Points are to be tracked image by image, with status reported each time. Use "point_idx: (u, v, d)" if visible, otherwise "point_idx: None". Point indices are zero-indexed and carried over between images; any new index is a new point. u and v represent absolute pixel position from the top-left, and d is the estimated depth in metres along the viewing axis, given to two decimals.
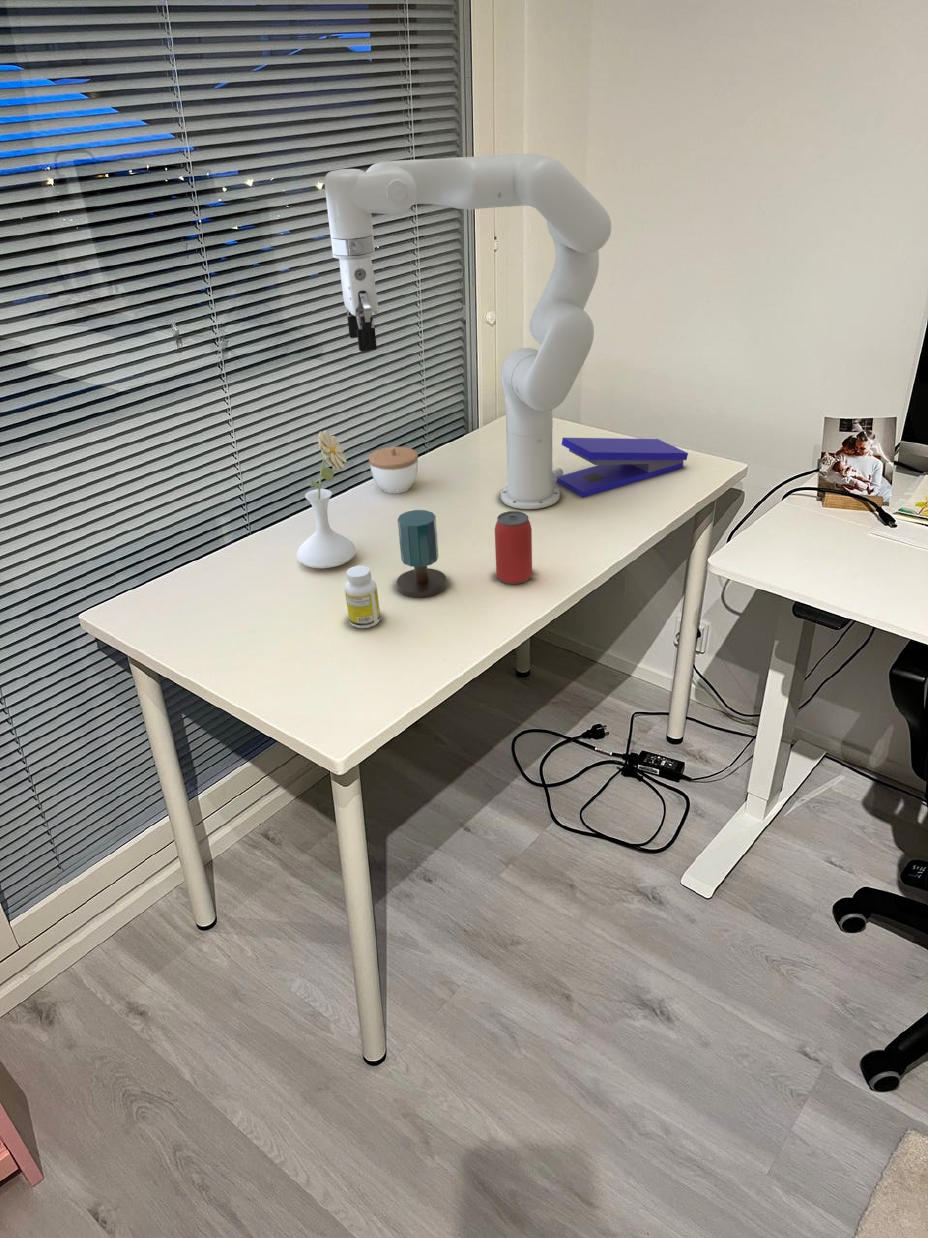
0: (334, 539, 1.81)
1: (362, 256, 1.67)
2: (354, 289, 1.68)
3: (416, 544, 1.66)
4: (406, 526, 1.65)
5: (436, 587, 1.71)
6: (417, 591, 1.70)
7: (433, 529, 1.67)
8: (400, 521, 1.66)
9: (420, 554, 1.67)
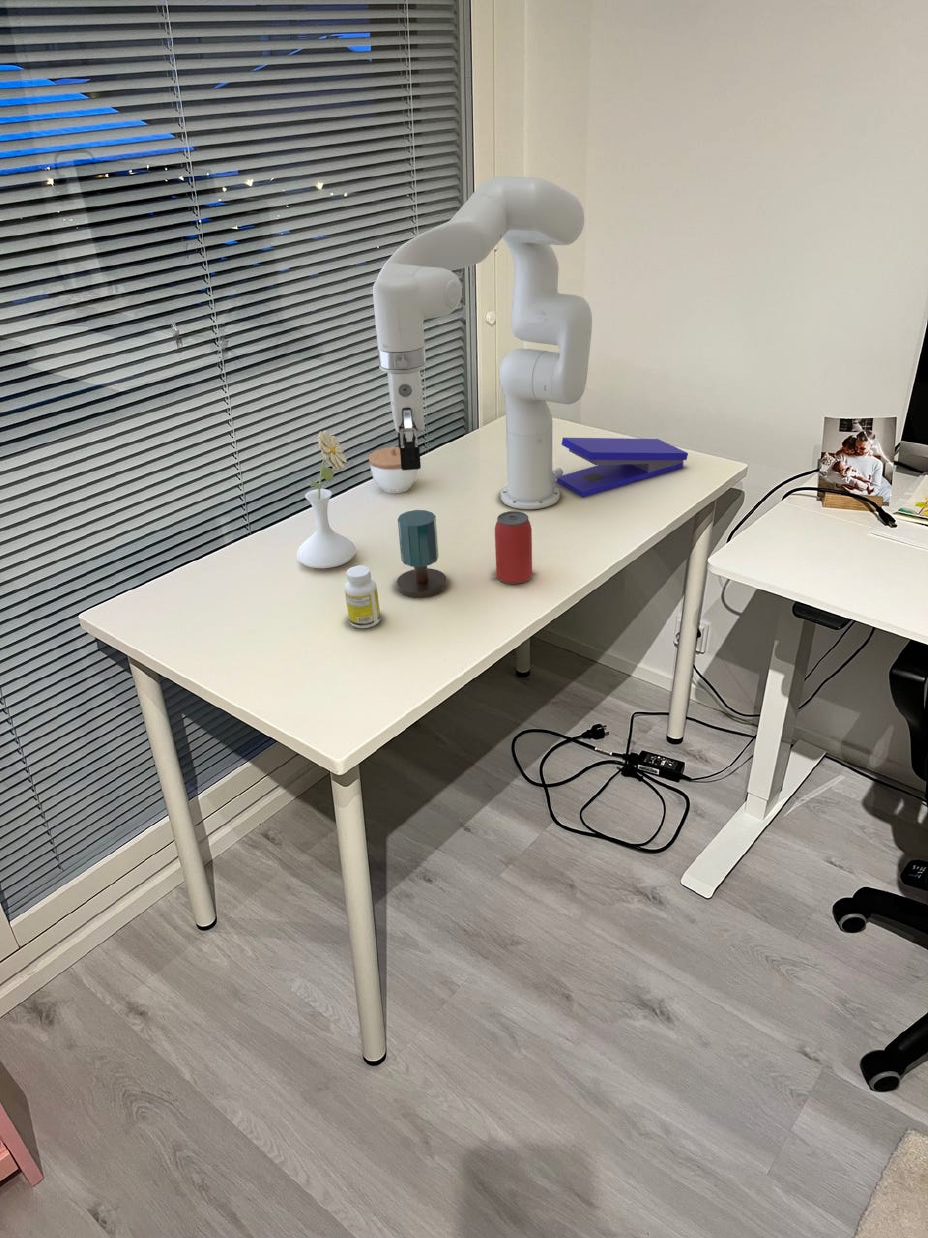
0: (334, 539, 1.81)
1: (409, 371, 1.51)
2: (398, 405, 1.52)
3: (416, 544, 1.66)
4: (406, 526, 1.65)
5: (436, 587, 1.71)
6: (417, 591, 1.70)
7: (433, 529, 1.67)
8: (400, 521, 1.66)
9: (420, 554, 1.67)
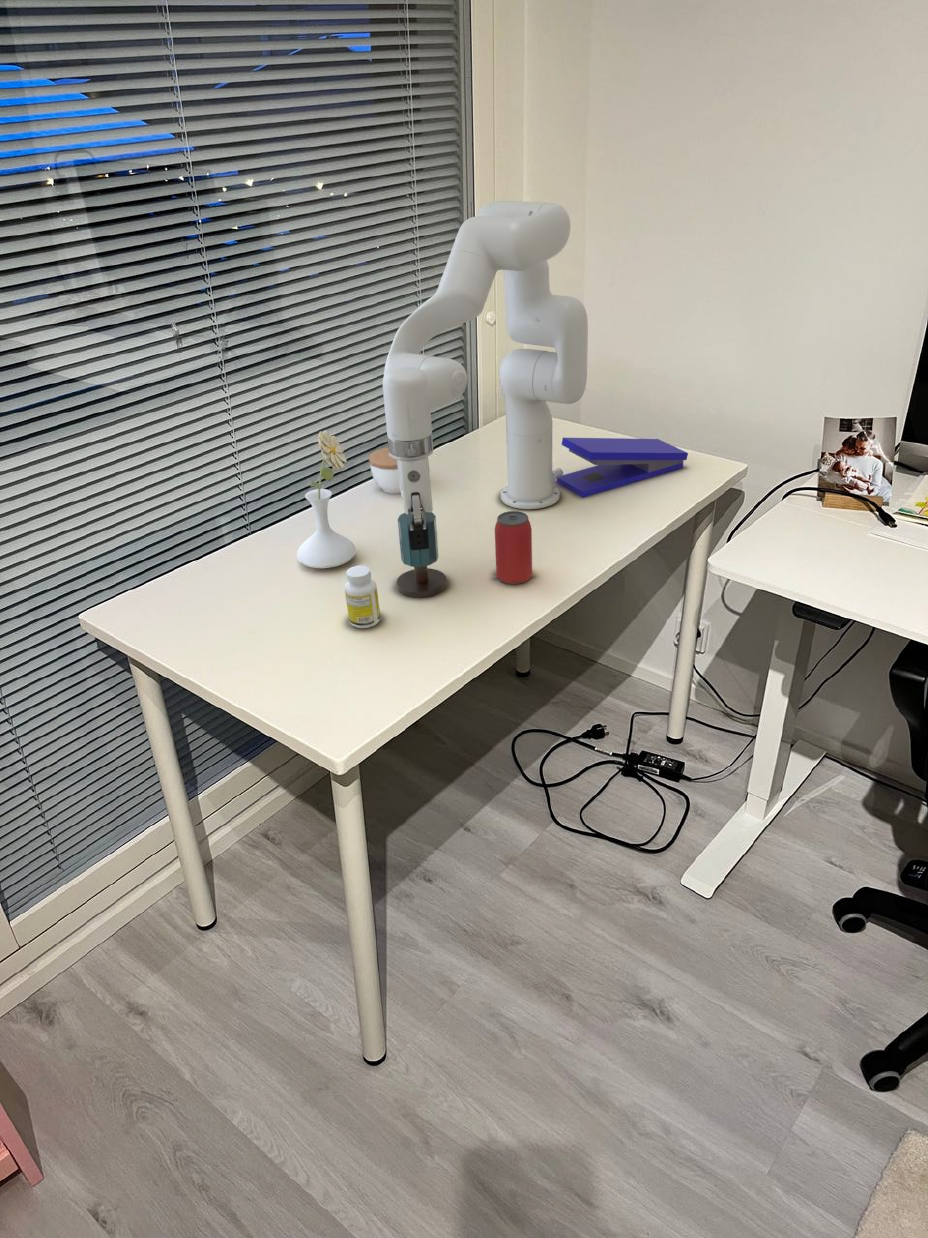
0: (334, 539, 1.81)
1: (417, 458, 1.58)
2: (407, 490, 1.59)
3: None
4: (406, 526, 1.65)
5: (436, 587, 1.71)
6: (417, 591, 1.70)
7: (433, 529, 1.67)
8: (400, 521, 1.66)
9: (420, 554, 1.67)
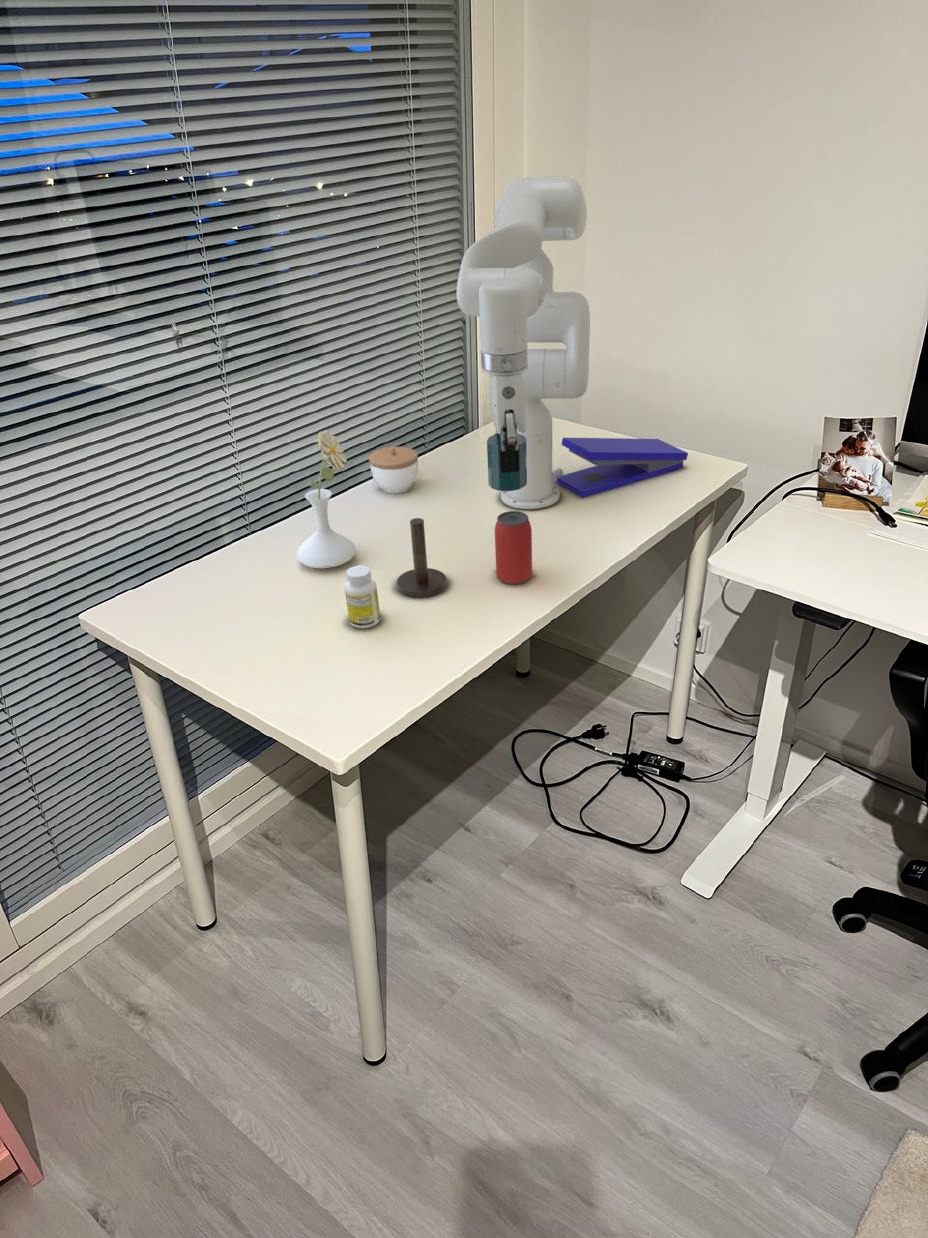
0: (334, 539, 1.81)
1: (512, 373, 1.52)
2: (500, 408, 1.54)
3: None
4: (496, 447, 1.60)
5: (436, 587, 1.71)
6: (417, 591, 1.70)
7: (524, 451, 1.61)
8: (490, 443, 1.61)
9: (510, 477, 1.62)
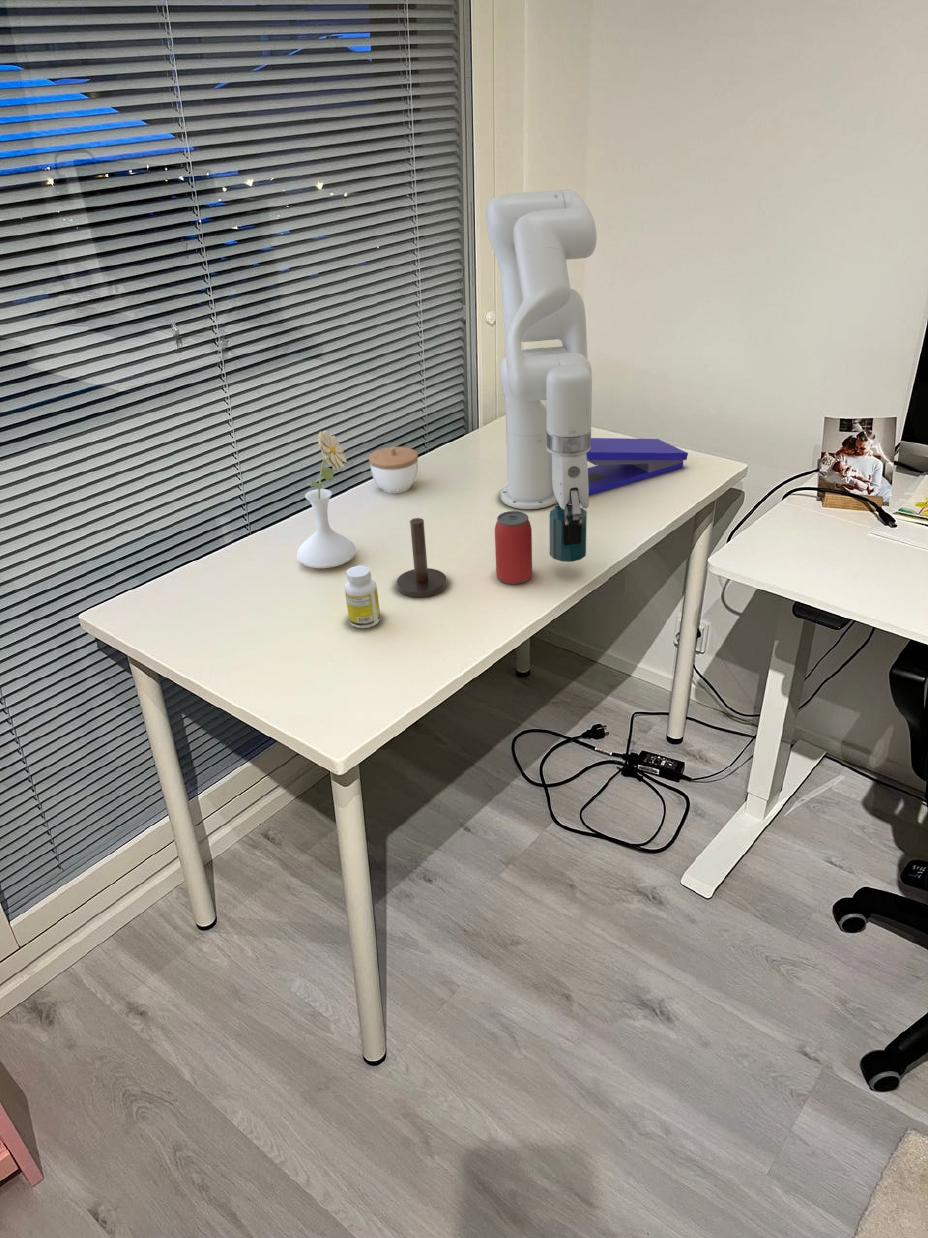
0: (334, 539, 1.81)
1: (578, 454, 1.60)
2: (566, 486, 1.62)
3: None
4: (560, 521, 1.68)
5: (436, 587, 1.71)
6: (417, 591, 1.70)
7: (585, 524, 1.69)
8: (553, 516, 1.69)
9: (571, 549, 1.70)
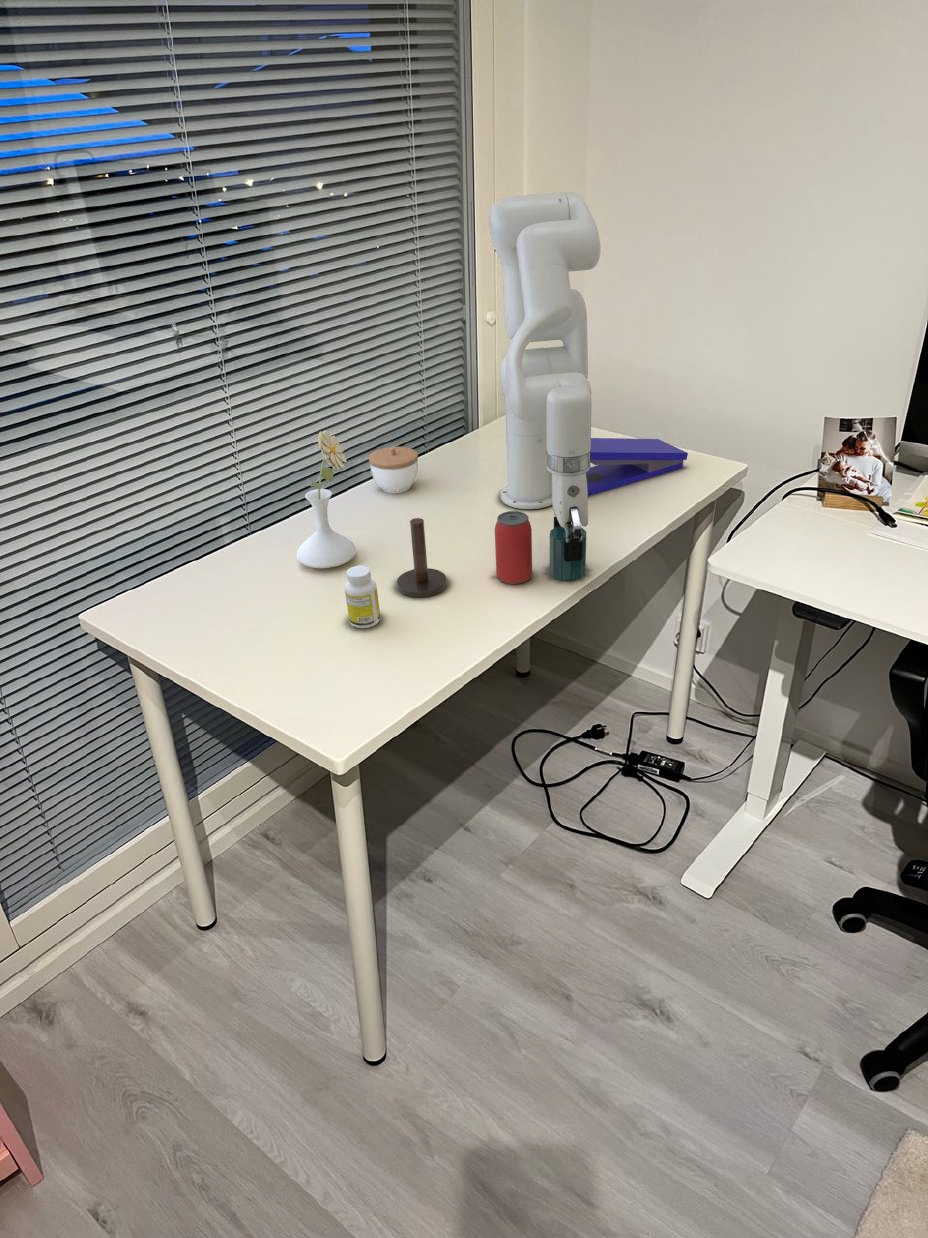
0: (334, 539, 1.81)
1: (577, 473, 1.62)
2: (566, 505, 1.64)
3: None
4: (560, 541, 1.70)
5: (436, 587, 1.71)
6: (417, 591, 1.70)
7: (584, 544, 1.71)
8: (553, 536, 1.71)
9: (571, 568, 1.72)
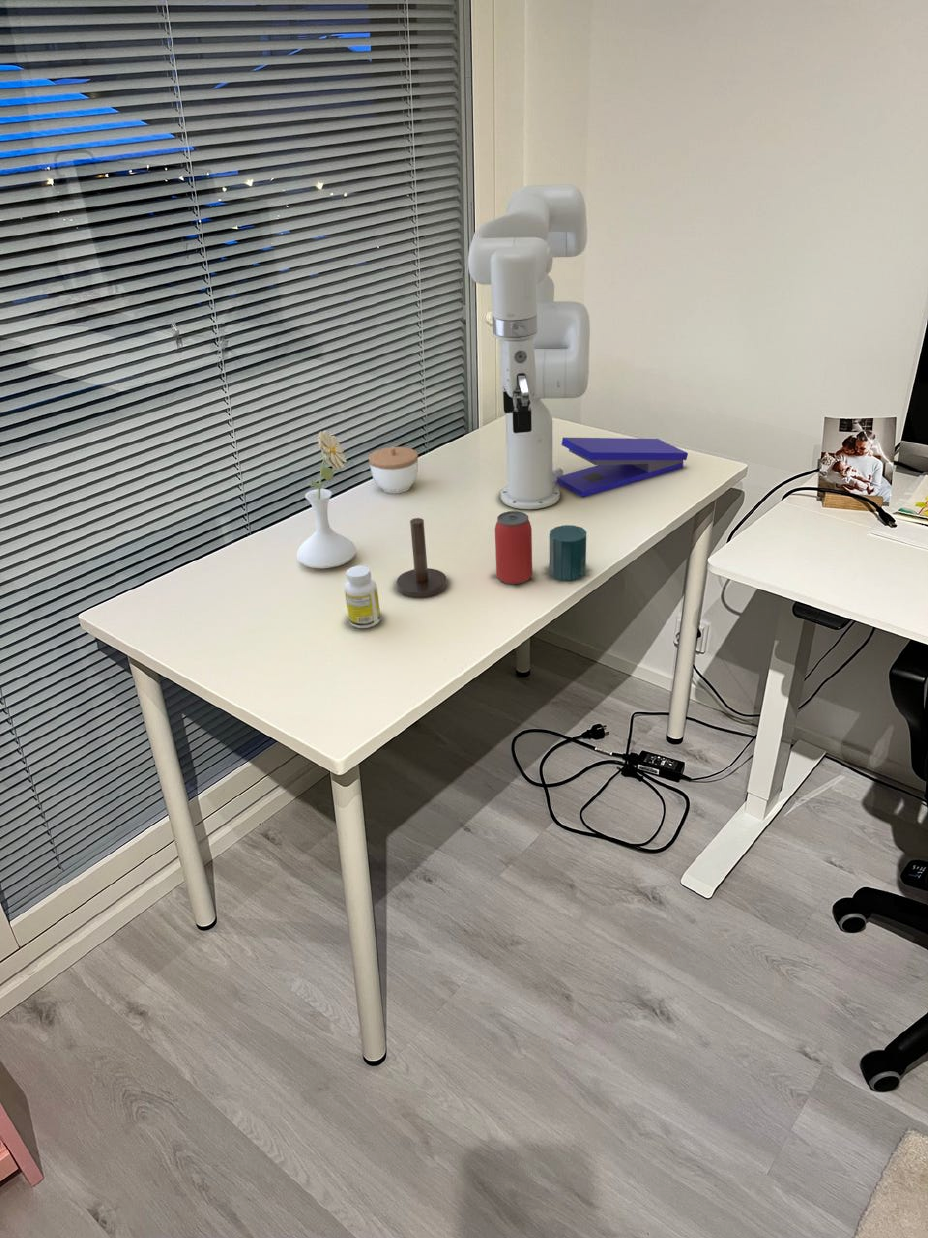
0: (334, 539, 1.81)
1: (524, 338, 1.59)
2: (513, 371, 1.61)
3: (568, 559, 1.71)
4: (560, 541, 1.70)
5: (436, 587, 1.71)
6: (417, 591, 1.70)
7: (584, 544, 1.71)
8: (553, 536, 1.71)
9: (571, 568, 1.72)
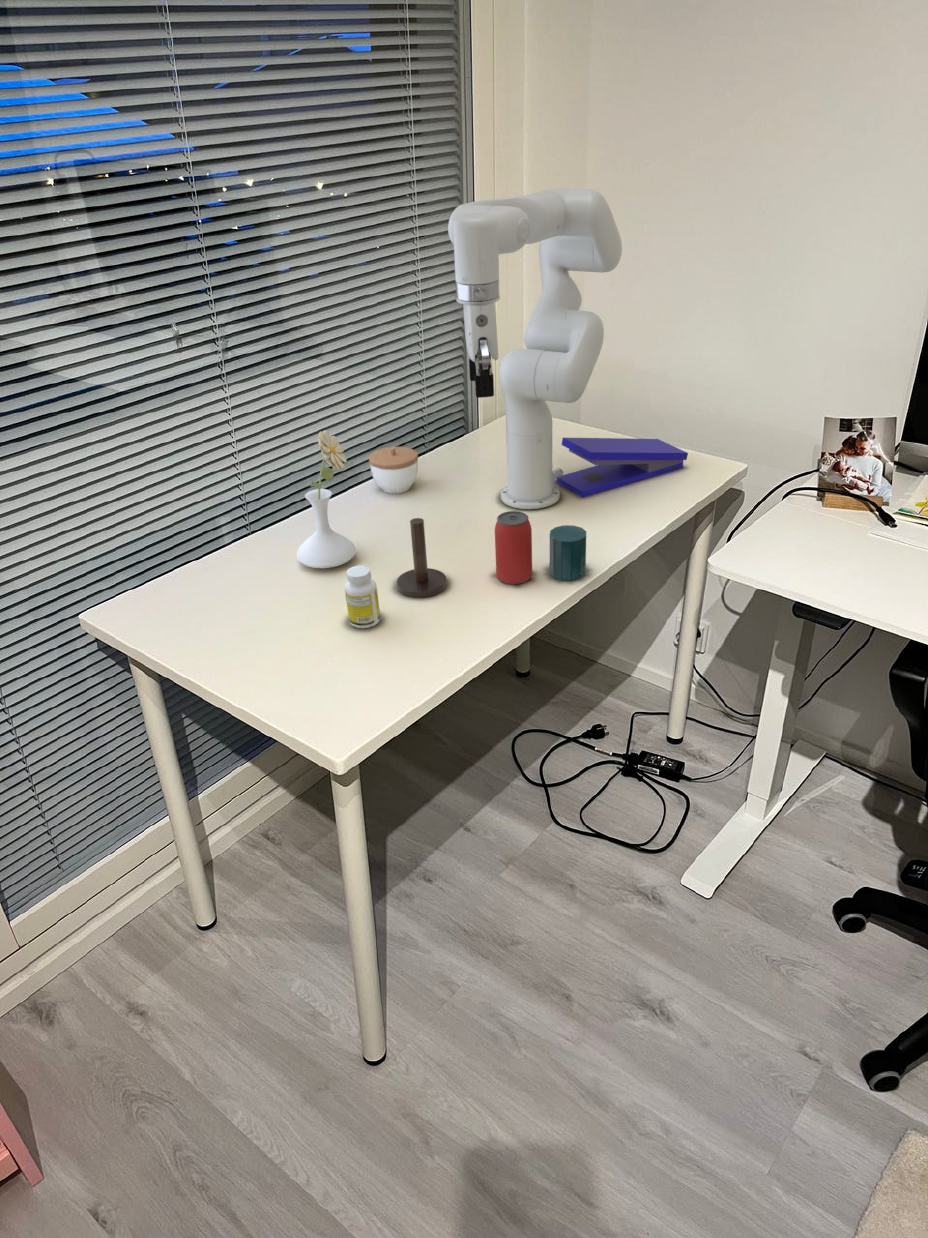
0: (334, 539, 1.81)
1: (485, 302, 1.63)
2: (474, 335, 1.64)
3: (568, 559, 1.71)
4: (560, 541, 1.70)
5: (436, 587, 1.71)
6: (417, 591, 1.70)
7: (584, 544, 1.71)
8: (553, 536, 1.71)
9: (571, 568, 1.72)
